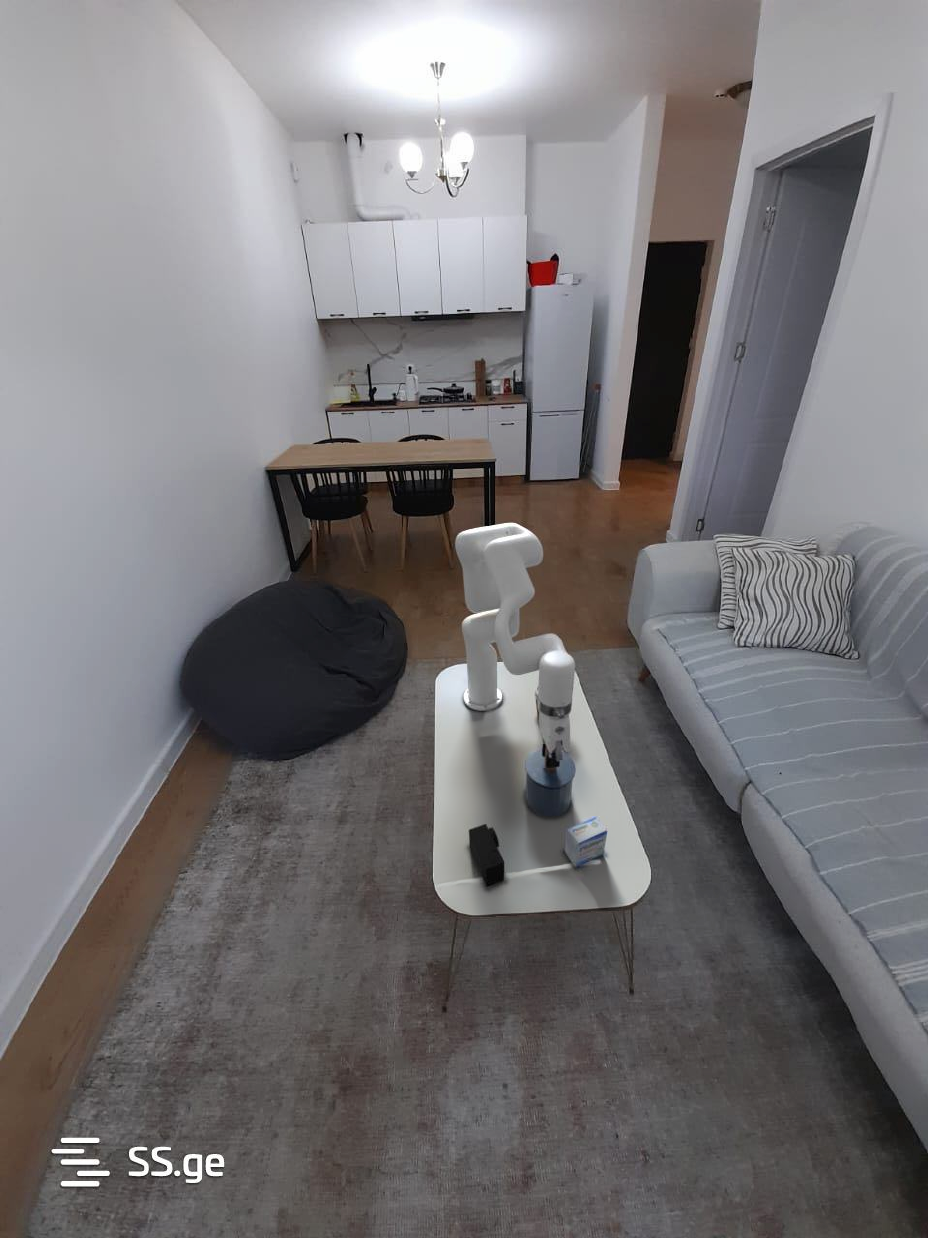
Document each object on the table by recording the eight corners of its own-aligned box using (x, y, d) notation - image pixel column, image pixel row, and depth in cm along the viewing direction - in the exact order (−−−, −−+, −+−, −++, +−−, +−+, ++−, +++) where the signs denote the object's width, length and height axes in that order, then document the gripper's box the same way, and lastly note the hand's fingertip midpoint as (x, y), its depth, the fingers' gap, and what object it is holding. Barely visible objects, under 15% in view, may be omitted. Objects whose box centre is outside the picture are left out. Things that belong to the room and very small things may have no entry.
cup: (521, 784, 132) (522, 756, 126) (562, 779, 133) (565, 751, 127) (531, 820, 122) (533, 792, 117) (576, 814, 123) (579, 785, 118)
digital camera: (509, 879, 110) (509, 860, 106) (486, 888, 108) (486, 869, 104) (491, 840, 118) (490, 821, 114) (469, 848, 116) (468, 829, 113)
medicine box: (575, 868, 111) (578, 844, 107) (564, 852, 115) (566, 828, 110) (604, 854, 114) (608, 831, 109) (592, 839, 117) (595, 815, 113)
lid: (520, 754, 126) (520, 733, 123) (566, 748, 128) (568, 727, 124) (531, 793, 116) (532, 771, 112) (582, 786, 117) (584, 764, 113)
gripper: (583, 725, 104) (576, 785, 114) (560, 678, 118) (555, 735, 128) (548, 730, 104) (544, 790, 113) (529, 682, 117) (527, 739, 127)
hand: (550, 760), depth 120 cm, fingers closed on lid, 2 cm apart
